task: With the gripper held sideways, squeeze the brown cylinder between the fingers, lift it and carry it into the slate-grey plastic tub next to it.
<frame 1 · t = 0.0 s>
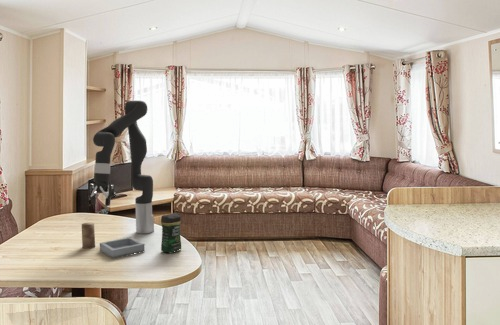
hand: (100, 205, 208), 22 cm above the table, tool pointing down, fingers open, 8 cm apart
grey tub: (122, 251, 207), on the table
brown cylinder: (88, 247, 214), on the table
coffee jar: (171, 251, 208), on the table
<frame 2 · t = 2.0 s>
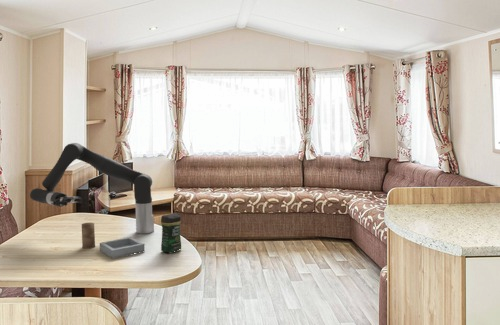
hand: (74, 202, 218), 22 cm above the table, tool horizontal, fingers open, 8 cm apart
nothing on the table moved.
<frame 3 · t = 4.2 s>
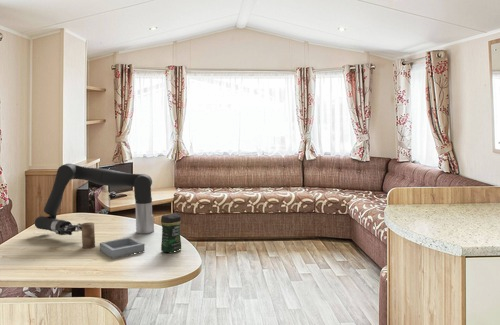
hand: (78, 231, 218), 7 cm above the table, tool horizontal, fingers open, 8 cm apart
nothing on the table moved.
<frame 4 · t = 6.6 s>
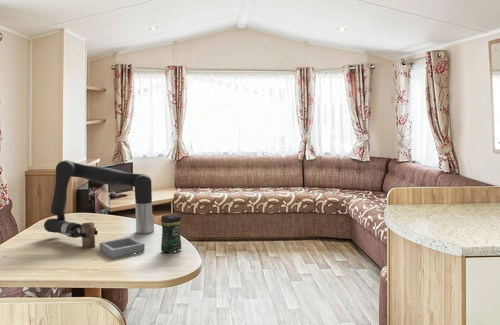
hand: (91, 234, 212), 7 cm above the table, tool horizontal, fingers closed on brown cylinder, 6 cm apart
brown cylinder: (88, 247, 214), on the table, touching gripper
everything else where it was.
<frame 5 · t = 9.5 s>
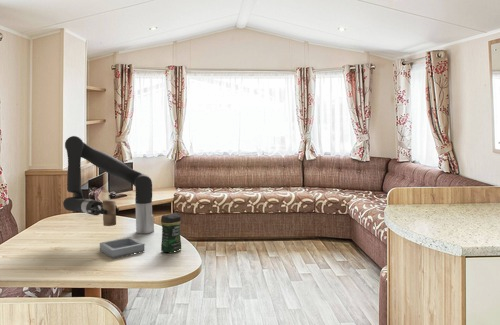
hand: (112, 211, 206), 20 cm above the table, tool horizontal, fingers closed on brown cylinder, 6 cm apart
brown cylinder: (109, 224, 208), point 13 cm above the table, touching gripper
everything else where it was.
when the fingers open (10 cm above the table, at t = 12.4 s): brown cylinder drops 2 cm, resting on grey tub.
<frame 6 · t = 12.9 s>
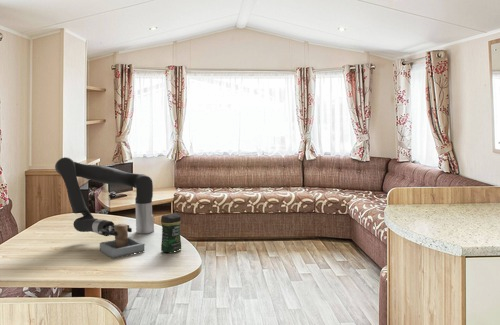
hand: (124, 232, 205), 10 cm above the table, tool horizontal, fingers open, 8 cm apart
brown cylinder: (121, 249, 207), point 1 cm above the table, touching grey tub
everything else where it was.
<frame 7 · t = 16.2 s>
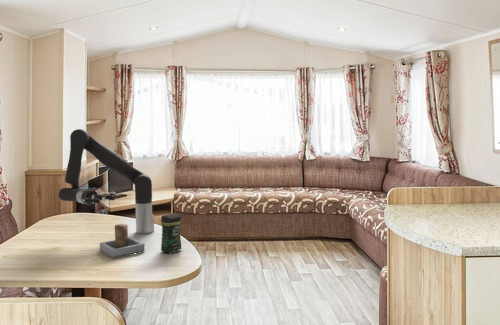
hand: (106, 199, 211), 25 cm above the table, tool horizontal, fingers open, 8 cm apart
nothing on the table moved.
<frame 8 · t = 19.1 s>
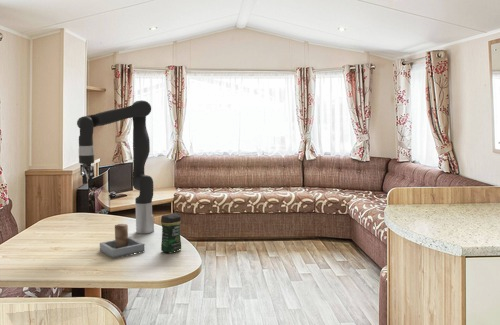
hand: (87, 184, 225), 30 cm above the table, tool pointing down, fingers open, 8 cm apart
nothing on the table moved.
at the end: brown cylinder inside the target area on the grey tub (0.1 cm from its centre), point 1.0 cm above the grey tub's base; brown cylinder tilted 0°; the gripper is holding nothing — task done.
